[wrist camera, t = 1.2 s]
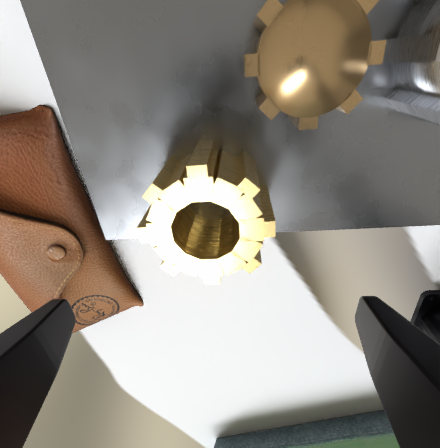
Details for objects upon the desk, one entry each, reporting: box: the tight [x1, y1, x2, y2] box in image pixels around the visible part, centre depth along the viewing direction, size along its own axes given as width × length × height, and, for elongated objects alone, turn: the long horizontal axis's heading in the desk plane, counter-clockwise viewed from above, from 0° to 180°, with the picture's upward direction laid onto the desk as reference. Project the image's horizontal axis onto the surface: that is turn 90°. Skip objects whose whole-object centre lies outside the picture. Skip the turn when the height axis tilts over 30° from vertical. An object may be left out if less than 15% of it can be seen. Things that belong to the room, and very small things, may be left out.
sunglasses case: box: [0, 105, 143, 333], centre depth 20 cm, size 18×7×7 cm, turn 12°
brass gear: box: [136, 140, 276, 284], centre depth 16 cm, size 7×7×4 cm
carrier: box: [20, 0, 440, 240], centre depth 12 cm, size 20×24×6 cm
